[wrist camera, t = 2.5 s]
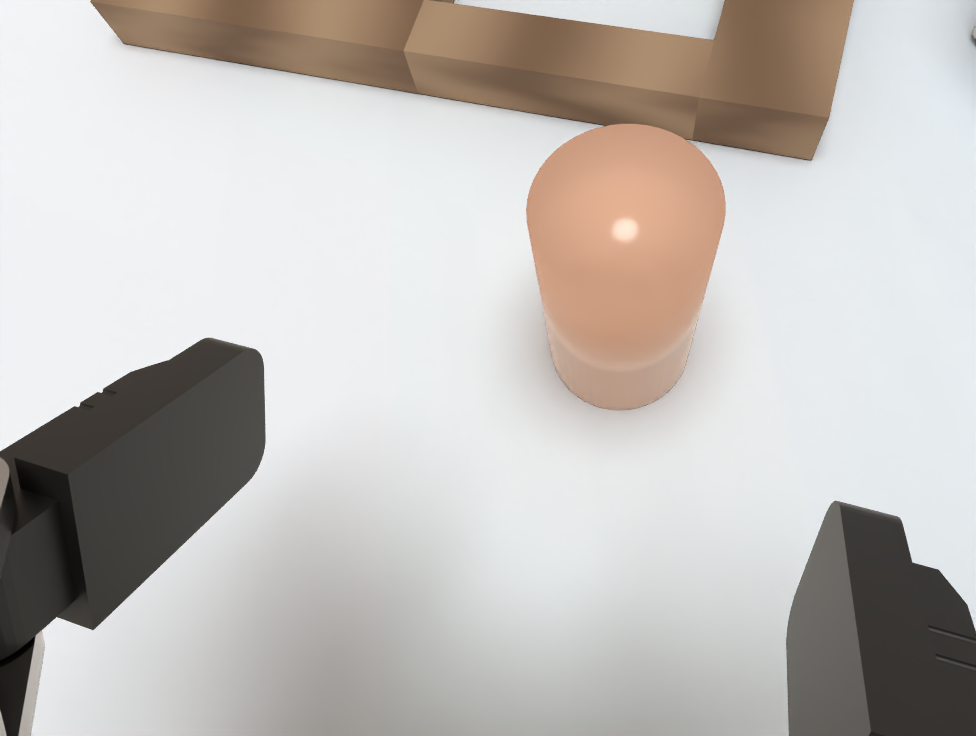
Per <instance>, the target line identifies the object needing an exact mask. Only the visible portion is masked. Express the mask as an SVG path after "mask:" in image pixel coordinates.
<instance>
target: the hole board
mask: <svg viewBox="0 0 976 736" xmlns="http://www.w3.org/2000/svg"><path fill="white" fill-rule="evenodd" d="M90 2H91V3H92V4H93V6H94V7H95V8H96V9H97V11H98V12H99V13H100V14H101V16H102V17H103V18H104V19H105V21H106V22H107V23H108V24H109V26H110V27H111V28H112V29H113V31H114V32H115V33H116V34H117V36H118V37H119V38H120V40H121V41H122V42H123V43H124V44H130V45H135V46H141V47H147V48H153V49H159V50H165V51H171V52H177V53H183V54H189V55H194V56H200V57H206V58H212V59H218V60H224V61H230V62H236V63H242V64H248V65H253V66H259V67H265V68H271V69H277V70H283V71H289V72H295V73H301V74H307V75H312V76H318V77H324V78H330V79H336V80H342V81H348V82H354V83H360V84H365V85H371V86H377V87H383V88H389V89H395V90H401V91H407V92H413V93H419V94H424V95H430V96H436V97H442V98H448V99H454V100H460V101H466V102H472V103H478V104H483V105H489V106H495V107H501V108H507V109H513V110H519V111H525V112H531V113H537V114H542V115H548V116H554V117H560V118H566V119H572V120H578V121H584V122H590V123H595V124H601V125H607V126H609V125H617V124H640V125H648V126H653V127H657V128H661V129H664V130H667V131H669V132H672V133H674V134H676V135H678V136H680V137H682V138H684V139H690V140H696V141H702V142H708V143H713V144H719V145H725V146H731V147H737V148H743V149H749V150H755V151H761V152H767V153H772V154H778V155H784V156H790V157H796V158H802V159H808V160H812V158H813V155H814V153H815V150H816V148H817V146H818V143H819V141H820V138H821V136H822V134H823V131H824V129H825V126H826V124H827V122H828V119H829V116H830V111H831V106H832V101H833V97H834V92H835V87H836V82H837V78H838V73H839V68H840V63H841V59H842V54H843V49H844V44H845V40H846V35H847V30H848V25H849V21H850V16H851V11H852V6H853V2H854V0H725V2H724V6H723V10H722V14H721V17H720V21H719V25H718V29H717V32H716V36H715V40H708V39H701V38H694V37H687V36H680V35H673V34H666V33H659V32H652V31H644V30H637V29H630V28H623V27H616V26H609V25H602V24H595V23H588V22H580V21H573V20H566V19H559V18H552V17H545V16H538V15H531V14H524V13H517V12H509V11H502V10H495V9H488V8H481V7H474V6H467V5H460V4H453V2H454V0H91V1H90Z"/></svg>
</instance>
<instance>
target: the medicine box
mask: <svg viewBox="0 0 976 736" xmlns="http://www.w3.org/2000/svg"><path fill="white" fill-rule="evenodd" d="M972 34H973V36H974V38H975V39H976V25H975V27H974V29H973V31H972Z"/></svg>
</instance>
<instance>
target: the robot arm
mask: <svg viewBox="0 0 976 736" xmlns="http://www.w3.org/2000/svg"><path fill="white" fill-rule="evenodd" d="M264 449H265V395H264V364H263V359H262V356H261V354H260V353H259V352H258V351H257V350H255V349H252V348H249V347H245V346H241V345H237V344H233V343H229V342H225V341H221V340H218V339H214V338H205V339H202V340H200V341H199V342H197V343H196V344H194V345H192V346H191V347H189V348H188V349H186V350H184V351H183V352H181V353H180V354H178V355H176V356H175V357H173V358H172V359H170V360H168V361H164V362H161V363H158V364H154V365H151V366H148V367H145V368H142V369H139V370H135V371H132V372H130V373H128V374H127V375H125V376H123V377H122V378H120V379H119V380H117V381H115V382H114V383H112V384H110V385H109V386H107V387H105V388H104V389H103V392H102V393H99V392H97V393H95V394H94V395H92V396H91V397H89V398H87V399H86V400H84V401H82V402H81V403H80V406H79V407H75V406H74V407H72V408H71V409H69V410H68V411H66V412H64V413H63V414H61V415H59V416H58V417H56V418H54V419H53V420H51V421H49V422H48V423H46V424H45V425H43V426H41V427H40V428H38V429H36V430H35V431H33V432H31V433H30V434H28V435H26V436H25V437H23V438H22V439H20V440H18V441H17V442H15V443H13V444H12V445H10V446H8V447H7V448H5V449H3V450H2V451H0V736H31V731H32V725H33V719H34V713H35V706H36V700H37V694H38V687H39V681H40V675H41V669H42V662H43V656H44V648H45V643H44V638H43V633H42V629H44V628H45V627H46V626H47V625H48V624H49V623H50V622H51V621H53V620H54V619H55V618H56V617H58V618H61V619H64V620H67V621H69V622H72V623H75V624H78V625H80V626H83V627H86V628H89V629H91V630H94V629H95V628H96V627H97V626H98V625H99V624H100V623H101V622H102V621H103V620H104V619H106V618H107V617H108V616H109V615H110V614H111V613H112V612H113V611H114V610H115V609H116V608H117V607H118V606H119V605H120V604H121V603H122V602H123V601H124V600H125V599H126V598H127V597H129V596H130V595H131V594H132V593H133V592H134V591H135V590H136V589H137V588H138V587H139V586H140V585H141V584H142V583H143V582H144V581H145V580H146V579H147V578H148V577H149V576H150V575H151V574H153V573H154V572H155V571H156V570H157V569H158V568H159V567H160V566H161V565H162V564H163V563H164V562H165V561H166V560H167V559H168V558H169V557H170V556H171V555H172V554H173V553H174V552H176V551H177V550H178V549H179V548H180V547H181V546H182V545H183V544H184V543H185V542H186V541H187V540H188V539H189V538H190V537H191V536H192V535H193V534H194V533H195V532H196V531H197V530H198V529H200V528H201V527H202V526H203V525H204V524H205V523H206V522H207V521H208V520H209V519H210V518H211V517H212V516H213V515H214V514H215V513H216V512H217V511H218V510H219V509H220V508H221V507H223V506H224V505H225V504H226V503H227V502H228V501H229V500H230V499H231V498H232V497H233V496H234V495H235V494H236V493H237V492H238V491H239V490H240V489H241V488H242V487H243V486H244V485H246V484H247V483H248V482H249V480H250V479H251V478H252V477H253V476H254V474H255V472H256V471H257V469H258V467H259V465H260V462H261V460H262V457H263V453H264ZM786 649H787V684H788V720H789V736H976V631H975V628H974V625H973V621H972V618H971V615H970V612H969V609H968V606H967V604H966V603H965V601H964V600H963V599H962V598H961V597H960V595H959V594H958V593H957V592H956V590H955V589H954V588H953V587H952V586H951V584H950V583H949V582H948V581H947V579H946V578H945V577H944V576H943V575H942V573H941V572H940V571H939V570H938V569H934V568H930V567H926V566H923V565H919V564H915V563H912V560H911V556H910V552H909V548H908V544H907V540H906V536H905V532H904V528H903V524H902V521H901V519H900V518H899V517H897V516H893V515H889V514H885V513H882V512H878V511H874V510H870V509H866V508H862V507H858V506H855V505H851V504H847V503H843V502H839V501H834V502H833V503H832V504H831V505H830V507H829V509H828V511H827V513H826V515H825V517H824V520H823V523H822V525H821V528H820V531H819V533H818V536H817V538H816V541H815V544H814V546H813V549H812V551H811V554H810V557H809V559H808V562H807V564H806V567H805V570H804V572H803V575H802V578H801V580H800V583H799V585H798V588H797V591H796V593H795V596H794V600H793V603H792V607H791V611H790V616H789V621H788V628H787V640H786Z"/></svg>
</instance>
